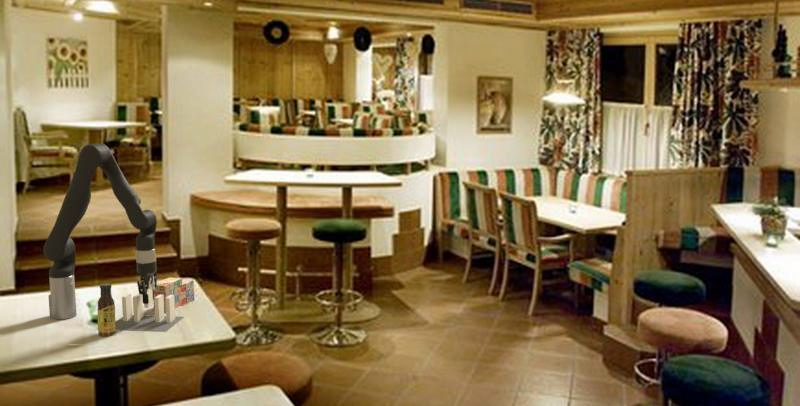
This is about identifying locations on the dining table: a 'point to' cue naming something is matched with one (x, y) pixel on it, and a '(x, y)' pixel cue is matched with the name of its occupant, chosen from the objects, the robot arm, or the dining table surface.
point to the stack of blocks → (175, 291)
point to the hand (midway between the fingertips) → (148, 301)
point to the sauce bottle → (106, 312)
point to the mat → (146, 324)
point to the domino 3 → (150, 295)
